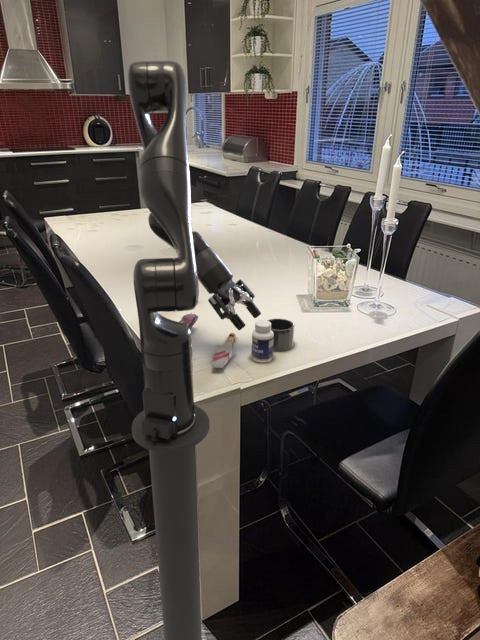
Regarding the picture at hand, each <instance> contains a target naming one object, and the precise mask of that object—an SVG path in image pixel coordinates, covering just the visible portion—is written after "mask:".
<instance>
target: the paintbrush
mask: <svg viewBox="0 0 480 640" xmlns="http://www.w3.org/2000/svg"><path fill="white" fill-rule="evenodd" d="M235 339H236V333H235V332H230V333H229V334H228V336H227V338H226V340H225V342H224V344H217V346H216V350H215V353H214V356H213V360H212V363H211V368H218V369H220V368H221V369H223V368H224V367H225V366H226V365H227V364H228V363H229V361H230V360H231V359H232V358H233V344H234V341H235Z"/></svg>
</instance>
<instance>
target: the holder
mask: <svg viewBox="0 0 480 640" xmlns="http://www.w3.org/2000/svg"><path fill="white" fill-rule="evenodd" d="M266 321H269V322H271V330H272V331H273V333H274V339H273V352H286V351H290V350H291V349H292V348H293V346H294V341H295V340H294V339H295V322H292V321H291V320H288V319H287V318H269V319H267V320H266Z"/></svg>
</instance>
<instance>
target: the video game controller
mask: <svg viewBox="0 0 480 640" xmlns="http://www.w3.org/2000/svg"><path fill="white" fill-rule="evenodd" d="M198 320H199V315H197V314H195V313H193V312H190V313H188V314H184V315H183V316H182V317H181V318H180V320H179V321H178V322H180V323H182V324H184V325H186V326H187V327H188V328H189V329H190V331H192V328H193V327H194V325H195V324H196V323H197V321H198Z"/></svg>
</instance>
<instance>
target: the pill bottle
mask: <svg viewBox="0 0 480 640" xmlns="http://www.w3.org/2000/svg"><path fill="white" fill-rule="evenodd" d="M273 339H274V333H273V331H272V330H271V322H269V321H267V320H265V319H261V320H257V321H256V322H255V323H254V330H253V331H252V334H251V359H252V360H253V361H254V362H257V363H268V362H271V361H272V360H273V357H274V356H273V355H274V351H273Z"/></svg>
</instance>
